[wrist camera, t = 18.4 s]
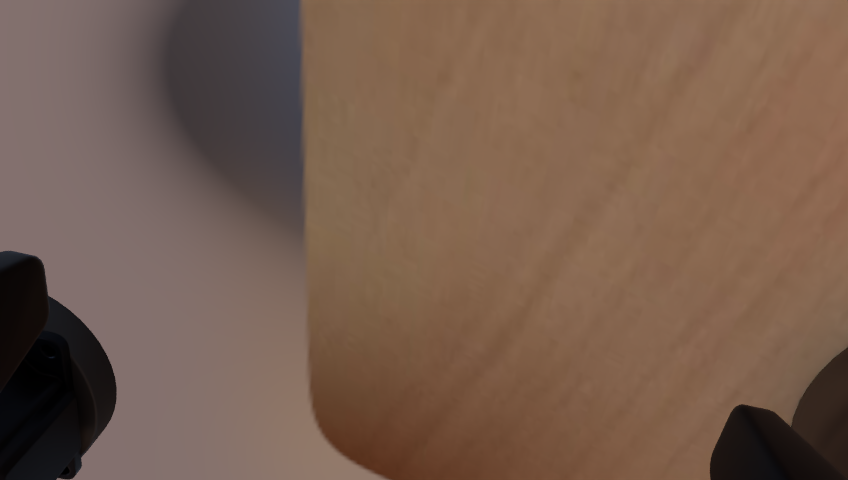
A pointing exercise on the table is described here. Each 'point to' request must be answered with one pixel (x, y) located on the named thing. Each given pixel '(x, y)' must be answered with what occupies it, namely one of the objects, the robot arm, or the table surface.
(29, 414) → the robot arm
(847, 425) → the stake stand
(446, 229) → the table surface
